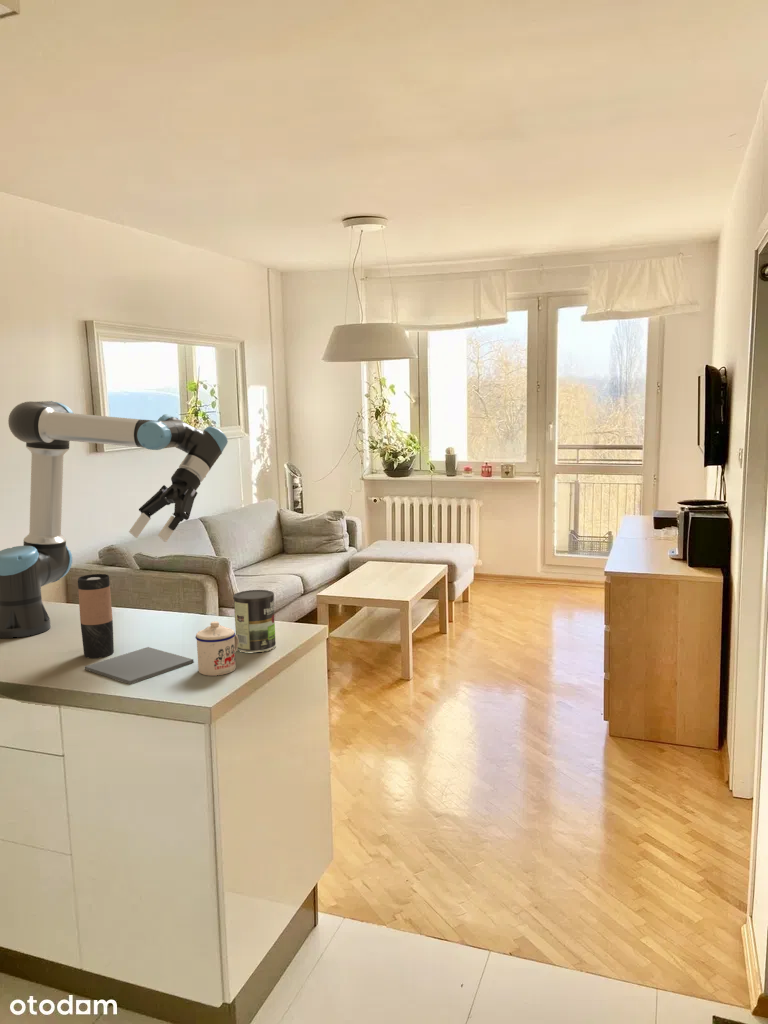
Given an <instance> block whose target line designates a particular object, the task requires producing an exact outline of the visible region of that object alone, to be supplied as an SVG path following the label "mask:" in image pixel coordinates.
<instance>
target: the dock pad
mask: <svg viewBox="0 0 768 1024" xmlns="http://www.w3.org/2000/svg"><path fill="white" fill-rule="evenodd" d="M191 664H194V658H190V657H186V656H183V655H179V654H175V653H172V652H168V651H163V650H161V649H156V648H152V647H150V646H147V647H143V648H141V649H138V650H137V649H136V650H133V651H130V652H128V653H124V654H120V655H117V656H114V657H110V658H108V659H104V660H101V661H97V662H95V663H94V662H93V663H90V664H89V665H85V666H84V670H85V669H87V670H86V671H88V670H90V671H89V672H91V671H92V672H91V673H94V672H95V673H94V674H97V673H98V674H97V675H100V674H101V676H103V675H104V677H106V676H107V678H109V677H110V679H112V678H113V680H115V679H116V681H118V680H119V681H118V682H121V681H122V682H121V683H124V682H125V684H127V683H128V685H133V684H135V683H138V682H141V681H144V680H147V679H149V678H153V677H155V676H158V675H161V674H164V673H167V672H169V671H174V670H176V669H179V668H181V667H184V666H187V665H191ZM132 683H133V684H132Z"/></svg>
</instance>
